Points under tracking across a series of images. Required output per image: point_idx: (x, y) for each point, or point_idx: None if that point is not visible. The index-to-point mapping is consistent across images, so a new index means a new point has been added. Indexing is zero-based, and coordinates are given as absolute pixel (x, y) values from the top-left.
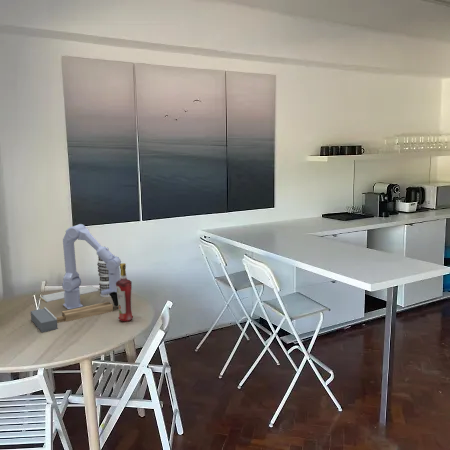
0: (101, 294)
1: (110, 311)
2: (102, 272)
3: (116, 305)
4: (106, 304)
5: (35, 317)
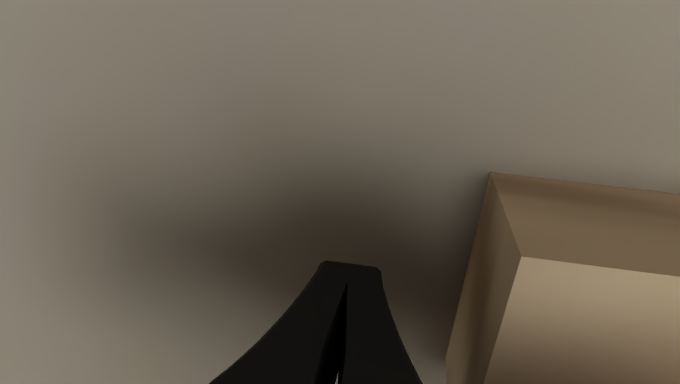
0: None
1: (555, 180)
2: None
3: (358, 271)
4: (622, 376)
5: None
